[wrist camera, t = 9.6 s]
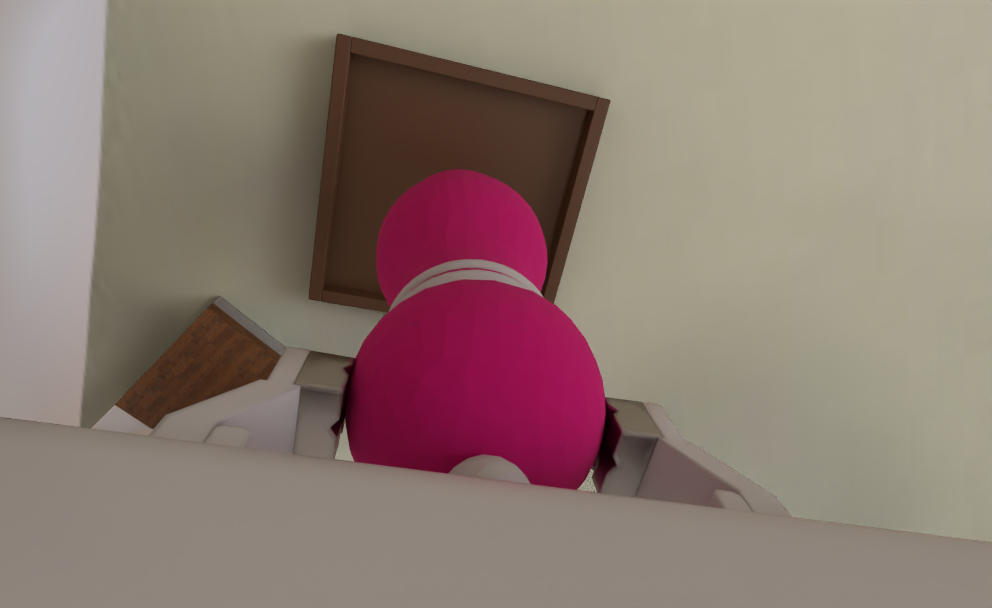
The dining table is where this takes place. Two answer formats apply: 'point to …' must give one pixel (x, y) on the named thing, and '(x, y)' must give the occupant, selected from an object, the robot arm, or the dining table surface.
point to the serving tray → (440, 154)
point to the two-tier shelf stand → (196, 369)
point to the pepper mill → (472, 345)
